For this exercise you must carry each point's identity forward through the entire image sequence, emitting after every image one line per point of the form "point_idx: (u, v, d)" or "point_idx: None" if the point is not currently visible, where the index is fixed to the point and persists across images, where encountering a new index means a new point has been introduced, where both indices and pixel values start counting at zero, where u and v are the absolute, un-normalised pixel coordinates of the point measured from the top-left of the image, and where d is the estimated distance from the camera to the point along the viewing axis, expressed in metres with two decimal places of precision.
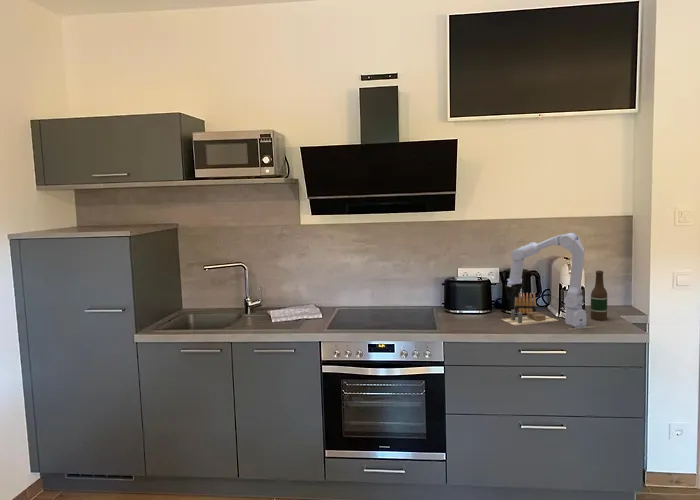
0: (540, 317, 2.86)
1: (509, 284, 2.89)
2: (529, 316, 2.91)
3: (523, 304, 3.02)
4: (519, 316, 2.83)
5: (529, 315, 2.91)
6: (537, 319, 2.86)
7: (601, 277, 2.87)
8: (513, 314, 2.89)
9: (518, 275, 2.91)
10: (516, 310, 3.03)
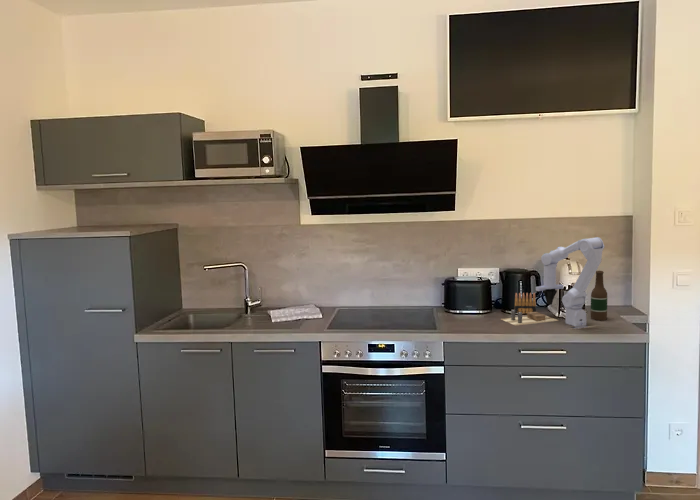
0: (540, 317, 2.86)
1: (537, 288, 2.88)
2: (529, 316, 2.91)
3: (523, 304, 3.02)
4: (519, 316, 2.83)
5: (529, 315, 2.91)
6: (537, 319, 2.86)
7: (601, 277, 2.87)
8: (513, 314, 2.89)
9: (548, 280, 2.87)
10: (516, 310, 3.03)
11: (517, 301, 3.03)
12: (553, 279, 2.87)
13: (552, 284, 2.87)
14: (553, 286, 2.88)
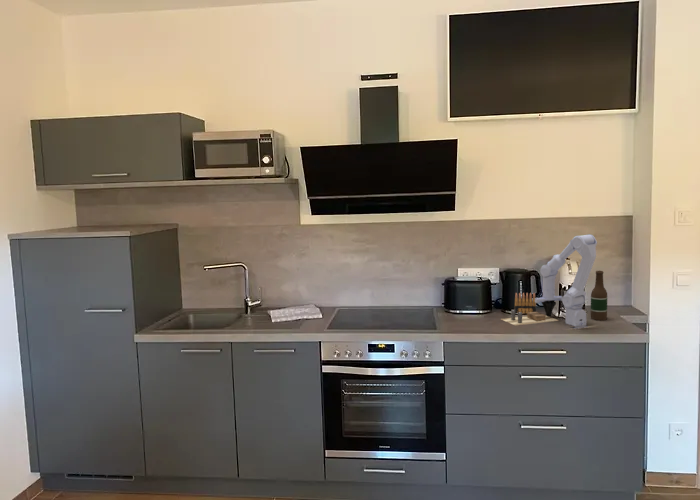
0: (540, 317, 2.86)
1: (536, 300, 2.89)
2: (529, 316, 2.91)
3: (523, 304, 3.02)
4: (519, 316, 2.83)
5: (529, 315, 2.91)
6: (537, 319, 2.86)
7: (601, 277, 2.87)
8: (513, 314, 2.89)
9: (547, 291, 2.88)
10: (516, 310, 3.03)
11: (517, 301, 3.03)
12: (552, 291, 2.88)
13: (551, 296, 2.88)
14: (552, 298, 2.88)
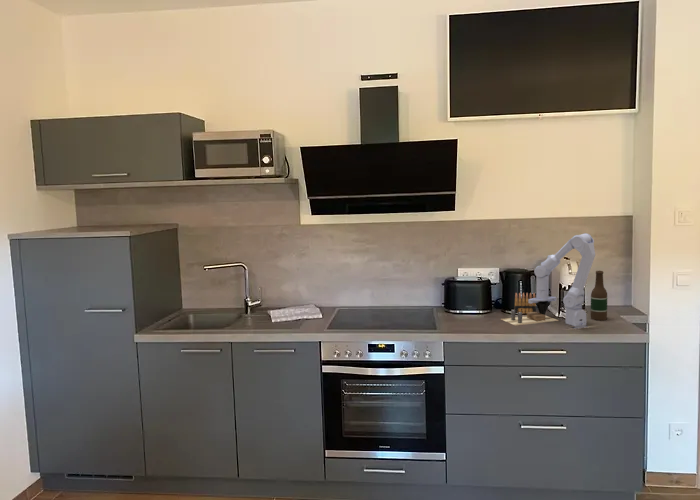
0: (540, 317, 2.86)
1: (529, 301, 2.88)
2: (529, 316, 2.91)
3: (523, 304, 3.02)
4: (519, 316, 2.83)
5: (529, 315, 2.91)
6: (537, 319, 2.86)
7: (601, 277, 2.87)
8: (513, 314, 2.89)
9: (541, 292, 2.87)
10: (516, 310, 3.03)
11: (517, 301, 3.03)
12: (546, 291, 2.87)
13: (545, 296, 2.87)
14: (546, 298, 2.87)
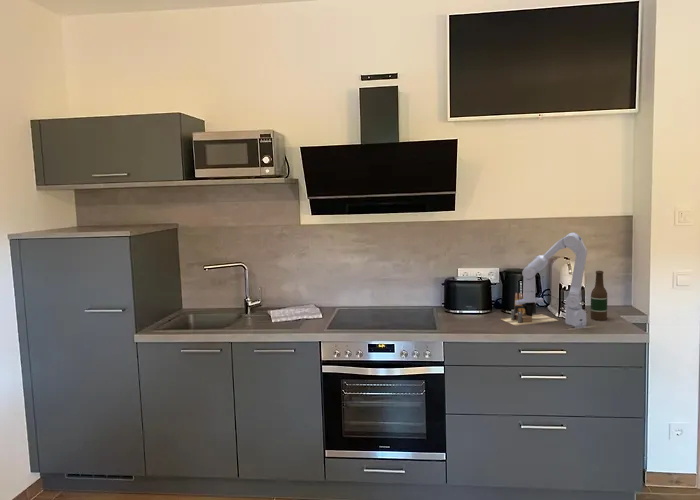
0: (526, 319, 2.84)
1: (516, 302, 2.86)
2: (515, 317, 2.89)
3: None
4: (519, 316, 2.83)
5: (516, 316, 2.89)
6: (523, 321, 2.84)
7: (601, 277, 2.87)
8: (513, 314, 2.89)
9: (528, 293, 2.85)
10: (516, 310, 3.03)
11: None
12: (532, 293, 2.85)
13: (531, 298, 2.85)
14: (532, 300, 2.85)
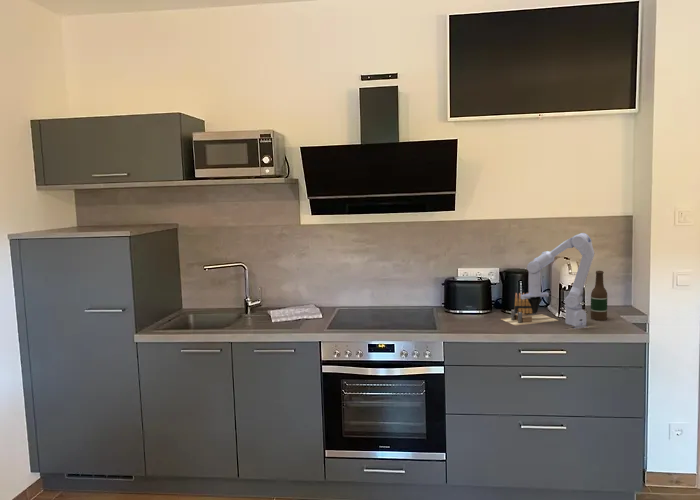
0: (526, 319, 2.84)
1: (521, 296, 2.86)
2: (515, 317, 2.89)
3: (523, 304, 3.02)
4: (519, 316, 2.83)
5: (516, 316, 2.89)
6: (523, 321, 2.84)
7: (601, 277, 2.87)
8: (513, 314, 2.89)
9: (533, 288, 2.85)
10: (516, 310, 3.03)
11: (517, 301, 3.03)
12: (538, 287, 2.85)
13: (537, 292, 2.85)
14: (538, 294, 2.86)
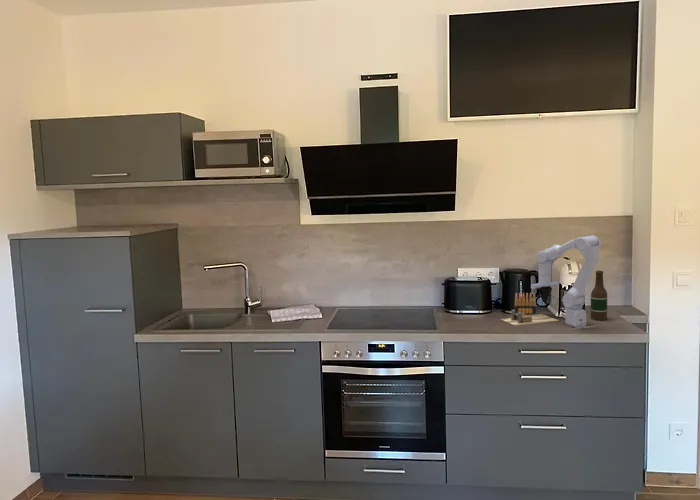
0: (526, 319, 2.84)
1: (532, 286, 2.89)
2: (515, 317, 2.89)
3: (523, 304, 3.02)
4: (519, 316, 2.83)
5: (516, 316, 2.89)
6: (523, 321, 2.84)
7: (601, 277, 2.87)
8: (513, 314, 2.89)
9: (543, 277, 2.89)
10: (516, 310, 3.03)
11: (517, 301, 3.03)
12: (548, 277, 2.89)
13: (547, 282, 2.89)
14: (548, 284, 2.89)
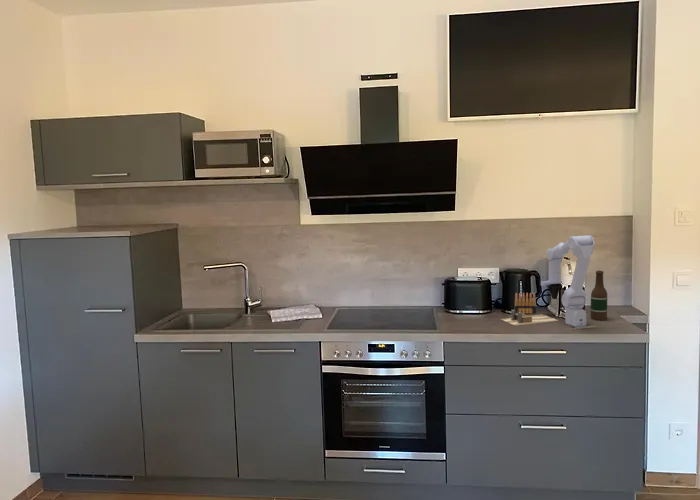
0: (526, 319, 2.84)
1: (542, 283, 2.93)
2: (515, 317, 2.89)
3: (523, 304, 3.02)
4: (519, 316, 2.83)
5: (516, 316, 2.89)
6: (523, 321, 2.84)
7: (601, 277, 2.87)
8: (513, 314, 2.89)
9: (553, 275, 2.92)
10: (516, 310, 3.03)
11: (517, 301, 3.03)
12: (558, 274, 2.92)
13: (557, 279, 2.92)
14: (558, 281, 2.93)
